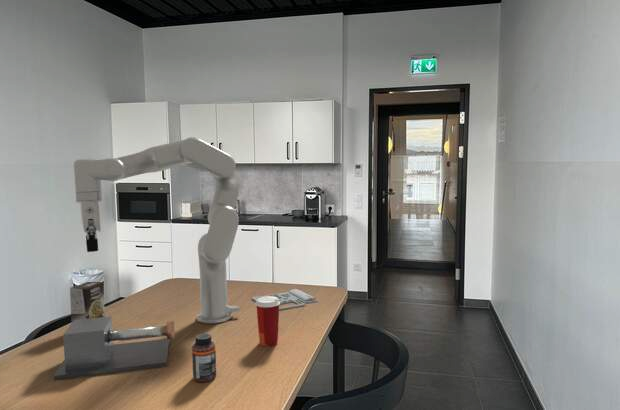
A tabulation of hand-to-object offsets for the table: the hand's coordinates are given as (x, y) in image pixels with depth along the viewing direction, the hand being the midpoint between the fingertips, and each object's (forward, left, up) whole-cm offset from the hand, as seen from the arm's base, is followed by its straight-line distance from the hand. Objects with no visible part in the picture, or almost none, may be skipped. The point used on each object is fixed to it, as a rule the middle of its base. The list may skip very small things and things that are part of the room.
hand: (92, 249), depth 144 cm
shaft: (-15, +23, -24) cm, 37 cm away
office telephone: (-69, -18, -30) cm, 77 cm away
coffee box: (+3, -5, -29) cm, 30 cm away
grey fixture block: (-10, +23, -29) cm, 38 cm away
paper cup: (-54, +24, -29) cm, 66 cm away
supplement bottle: (-34, +42, -29) cm, 61 cm away
